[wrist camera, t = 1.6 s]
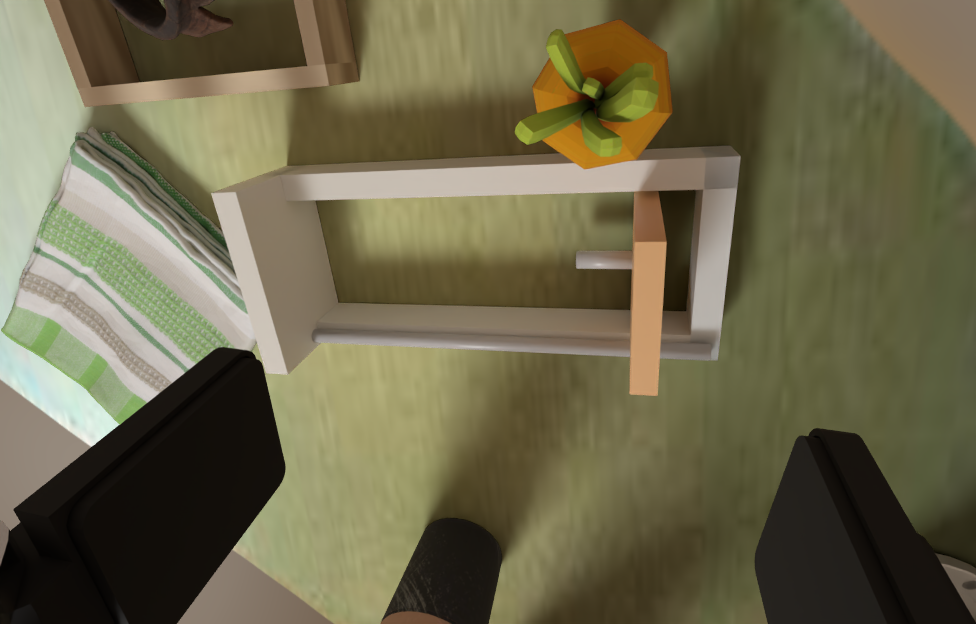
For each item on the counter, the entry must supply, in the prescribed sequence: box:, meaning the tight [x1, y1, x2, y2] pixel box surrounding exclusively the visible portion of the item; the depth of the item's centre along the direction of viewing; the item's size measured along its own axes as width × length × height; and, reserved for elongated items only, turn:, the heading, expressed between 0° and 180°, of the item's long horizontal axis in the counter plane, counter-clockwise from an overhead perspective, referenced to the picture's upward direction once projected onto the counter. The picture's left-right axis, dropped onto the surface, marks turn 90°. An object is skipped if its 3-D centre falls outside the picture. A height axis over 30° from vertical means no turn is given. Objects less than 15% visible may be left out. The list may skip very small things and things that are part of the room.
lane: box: [211, 145, 741, 375], centre depth 30 cm, size 26×11×7 cm, turn 95°
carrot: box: [515, 19, 673, 170], centre depth 21 cm, size 5×5×15 cm
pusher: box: [576, 191, 667, 396], centre depth 27 cm, size 4×7×9 cm, turn 5°
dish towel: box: [1, 127, 257, 424], centre depth 41 cm, size 17×23×4 cm
